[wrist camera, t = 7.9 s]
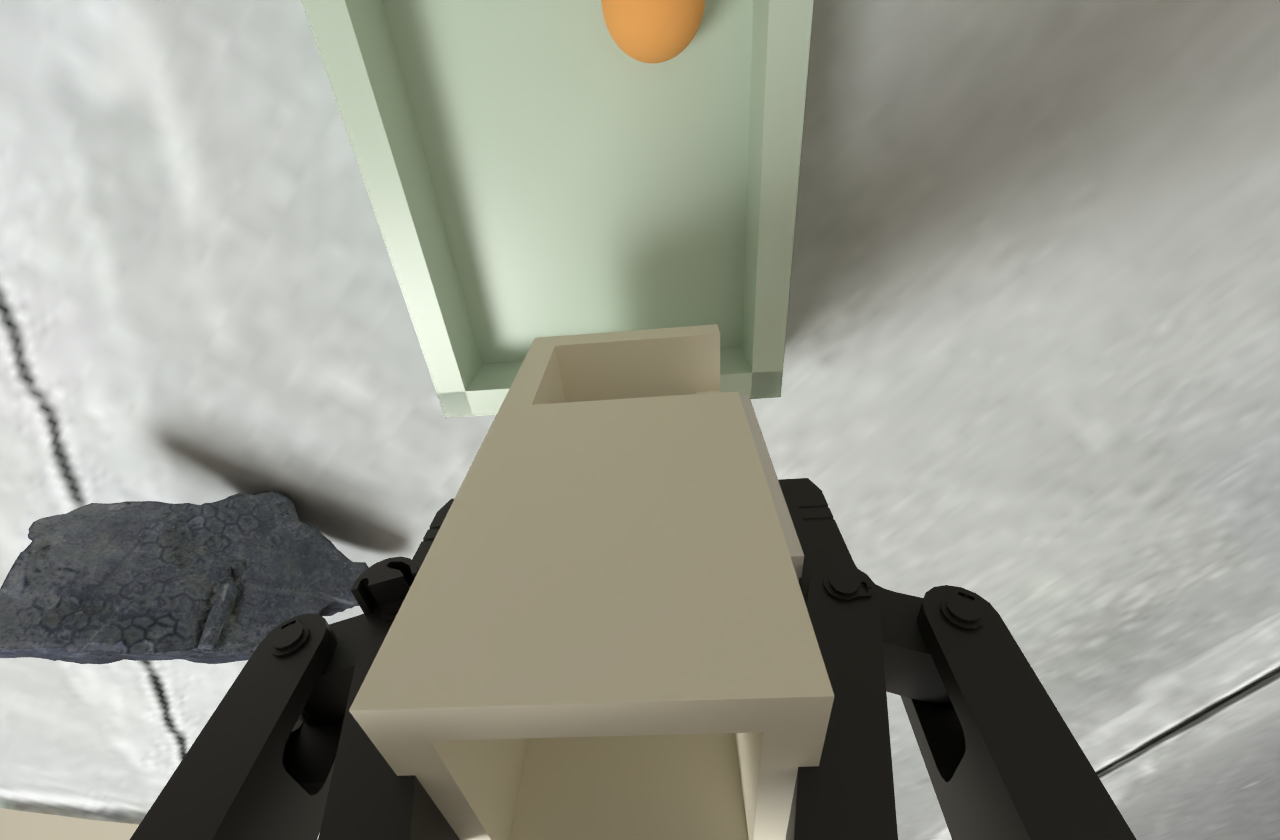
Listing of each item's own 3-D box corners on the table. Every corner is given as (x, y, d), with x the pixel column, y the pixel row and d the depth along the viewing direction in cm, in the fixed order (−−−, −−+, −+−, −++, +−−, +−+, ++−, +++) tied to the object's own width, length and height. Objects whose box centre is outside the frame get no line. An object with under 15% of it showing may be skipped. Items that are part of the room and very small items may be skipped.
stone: (394, 502, 28) (286, 672, 20) (394, 571, 31) (302, 742, 23) (126, 449, 26) (-117, 611, 18) (156, 528, 30) (-39, 697, 21)
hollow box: (534, 337, 16) (348, 710, 6) (717, 324, 16) (834, 696, 6) (564, 479, 20) (473, 878, 9) (717, 470, 19) (794, 876, 9)
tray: (305, -176, 14) (215, -249, 11) (799, -240, 13) (841, -337, 11) (470, 379, 24) (445, 418, 21) (763, 359, 23) (780, 397, 20)
